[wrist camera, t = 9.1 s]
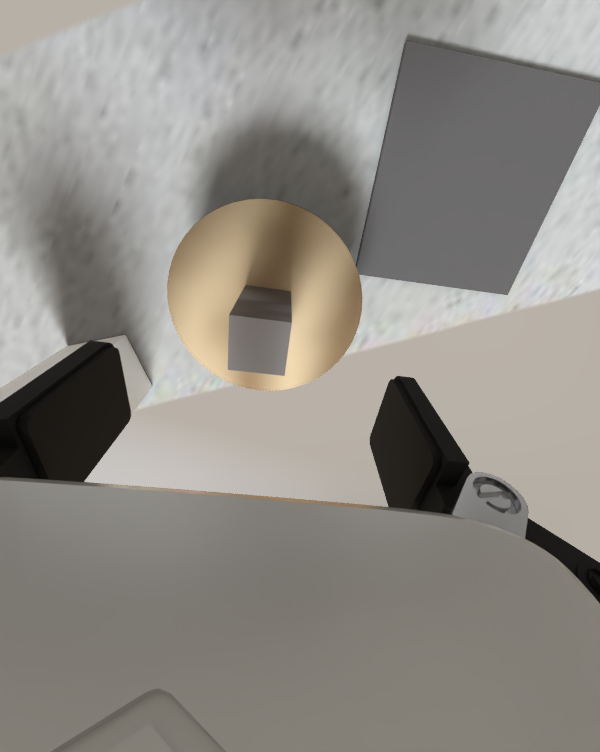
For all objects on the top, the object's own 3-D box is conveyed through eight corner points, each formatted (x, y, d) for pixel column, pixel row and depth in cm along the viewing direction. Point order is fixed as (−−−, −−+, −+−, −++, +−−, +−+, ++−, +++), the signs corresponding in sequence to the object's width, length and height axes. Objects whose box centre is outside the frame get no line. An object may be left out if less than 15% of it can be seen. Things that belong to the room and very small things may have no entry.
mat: (602, 87, 20) (609, 84, 20) (503, 293, 27) (507, 295, 26) (404, 44, 19) (407, 40, 18) (354, 272, 26) (355, 273, 25)
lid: (382, 217, 18) (426, 224, 12) (338, 393, 25) (353, 452, 19) (163, 181, 17) (97, 168, 11) (177, 376, 23) (139, 433, 17)
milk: (67, 345, 28) (-404, 635, 9) (127, 333, 28) (-236, 614, 9) (100, 397, 31) (-203, 698, 12) (154, 387, 31) (-70, 684, 12)
